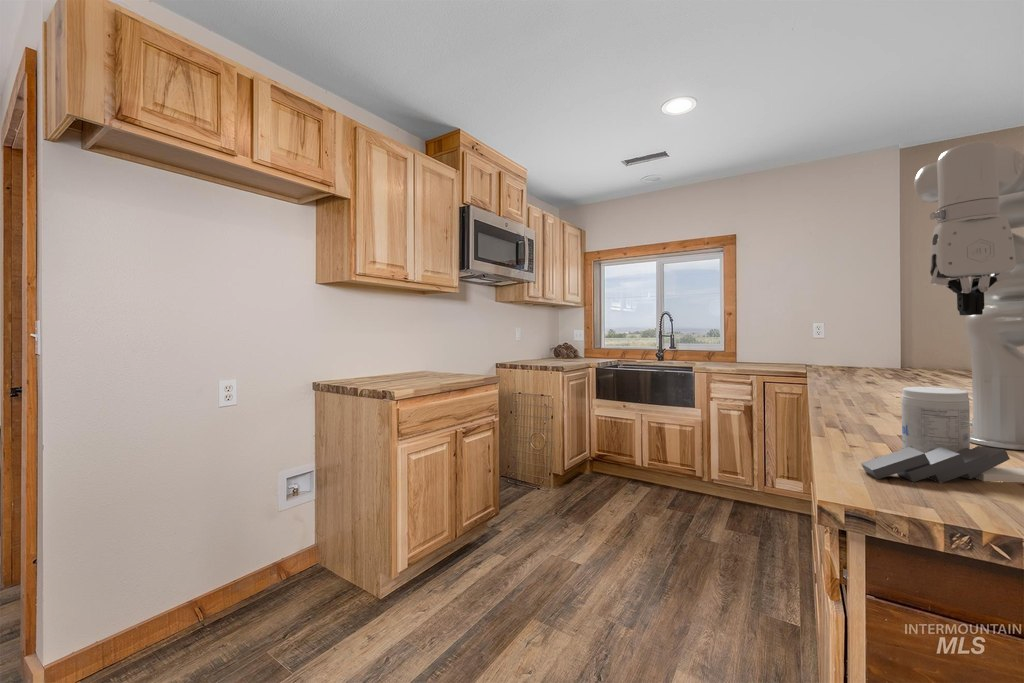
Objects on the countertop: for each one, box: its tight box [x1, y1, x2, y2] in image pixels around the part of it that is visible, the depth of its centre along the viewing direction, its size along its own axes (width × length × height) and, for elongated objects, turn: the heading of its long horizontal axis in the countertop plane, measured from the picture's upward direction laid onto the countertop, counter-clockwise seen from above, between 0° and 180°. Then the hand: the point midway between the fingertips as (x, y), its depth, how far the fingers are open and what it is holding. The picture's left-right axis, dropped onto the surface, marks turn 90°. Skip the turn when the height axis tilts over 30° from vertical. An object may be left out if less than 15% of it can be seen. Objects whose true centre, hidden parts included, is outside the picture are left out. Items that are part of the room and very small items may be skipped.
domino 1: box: [860, 447, 930, 480], centre depth 77 cm, size 4×2×8 cm
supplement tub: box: [901, 386, 971, 453], centre depth 84 cm, size 10×10×15 cm
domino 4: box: [958, 445, 1011, 480], centre depth 76 cm, size 4×2×8 cm
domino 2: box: [896, 447, 966, 483], centre depth 75 cm, size 4×2×8 cm
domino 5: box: [973, 467, 1024, 483], centre depth 74 cm, size 4×2×8 cm
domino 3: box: [928, 448, 993, 483], centre depth 74 cm, size 4×2×8 cm
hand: (970, 314), depth 77 cm, fingers closed
